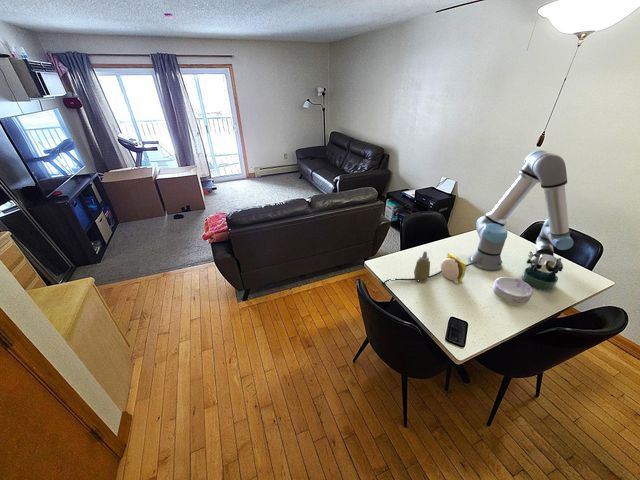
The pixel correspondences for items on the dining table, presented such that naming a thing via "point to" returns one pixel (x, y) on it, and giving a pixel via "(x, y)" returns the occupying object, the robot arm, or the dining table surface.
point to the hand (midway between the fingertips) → (544, 272)
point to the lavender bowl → (512, 290)
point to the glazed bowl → (539, 284)
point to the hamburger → (453, 268)
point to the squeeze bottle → (422, 268)
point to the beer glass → (544, 267)
